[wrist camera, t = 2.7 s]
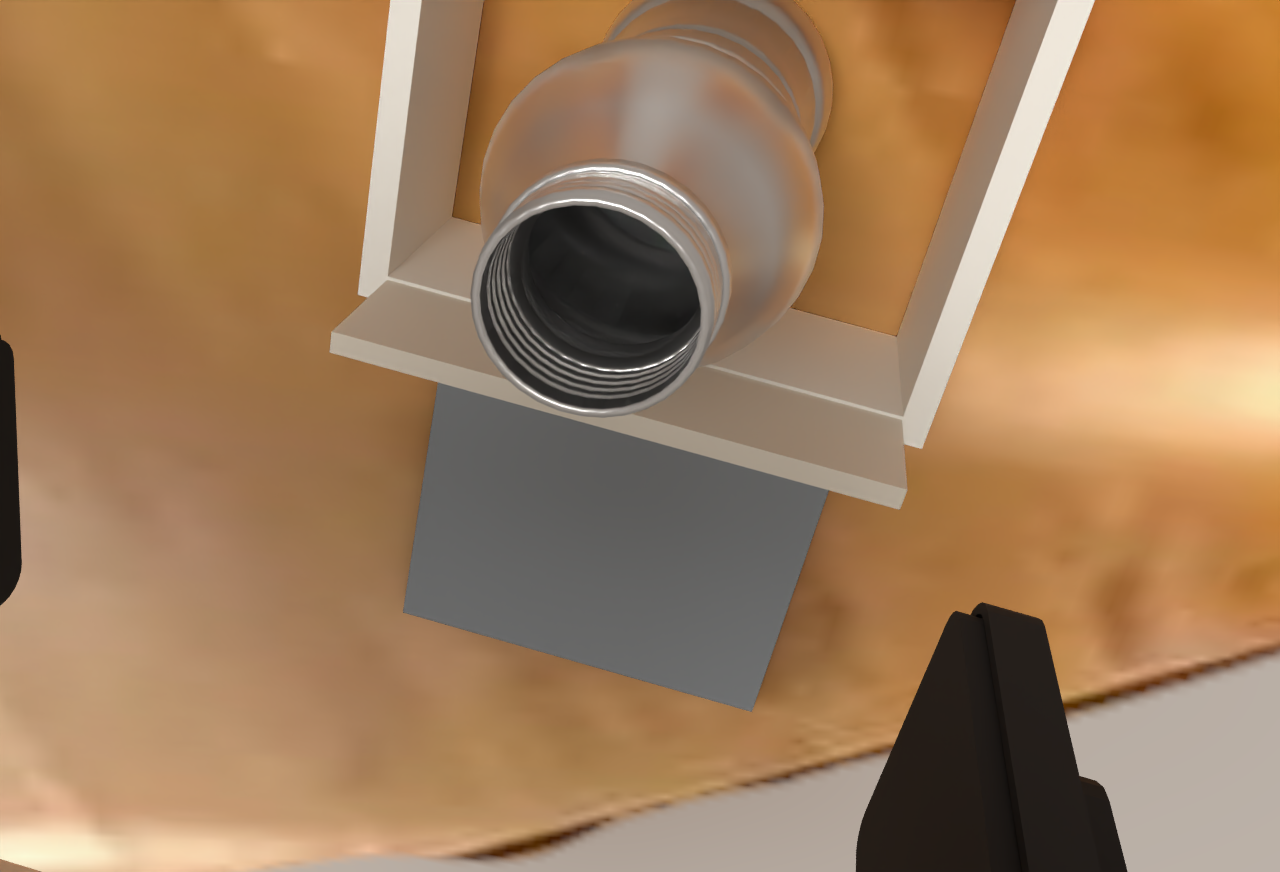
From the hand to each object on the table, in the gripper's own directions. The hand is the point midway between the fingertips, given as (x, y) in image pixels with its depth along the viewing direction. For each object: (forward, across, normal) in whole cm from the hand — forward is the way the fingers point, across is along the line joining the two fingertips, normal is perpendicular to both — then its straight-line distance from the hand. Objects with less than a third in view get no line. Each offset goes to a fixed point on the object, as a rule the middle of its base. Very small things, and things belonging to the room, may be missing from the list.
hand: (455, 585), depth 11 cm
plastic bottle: (+27, 0, 0) cm, 27 cm away
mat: (+27, 0, +15) cm, 31 cm away
